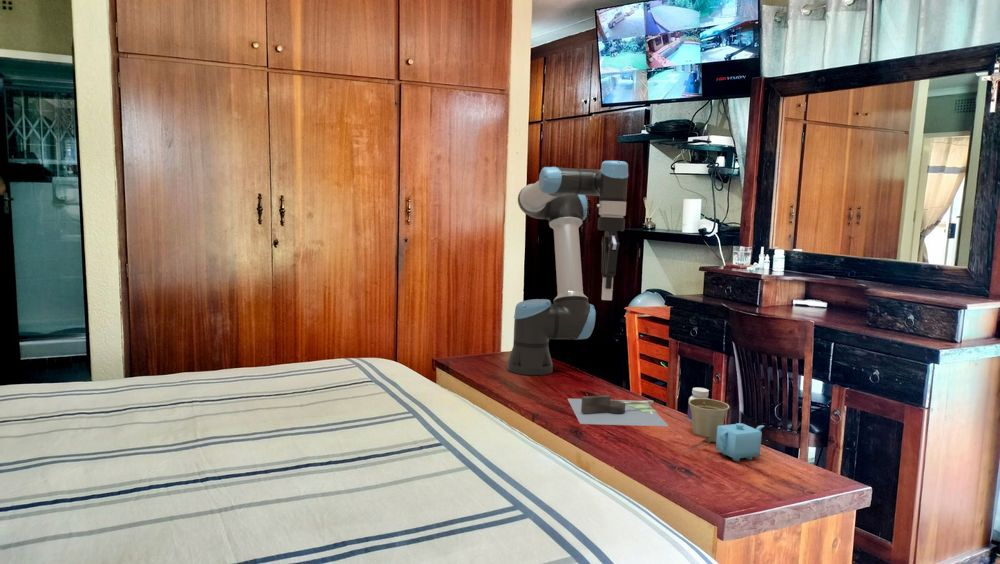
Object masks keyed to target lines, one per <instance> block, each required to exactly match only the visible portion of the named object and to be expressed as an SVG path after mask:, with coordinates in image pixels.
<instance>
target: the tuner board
mask: <svg viewBox="0 0 1000 564" xmlns="http://www.w3.org/2000/svg"><path fill="white" fill-rule="evenodd" d="M615 400H616V401H622V402H633V401H636V400H631V399H630V400H628V399H627V400H626V399H615ZM567 401H568V403H569V405H570V407H571V409H572V411H573V412H574V415H575V417H576V419H577V420H578V422H579V425H595V426H596V425H598V426H599V425H600V426H602V425H604V426H608V425H609V426H635V427H637V426H638V427H641V426H643V427H670V426H669V425H668V423H667V422H665V420H664V419H663V418H662V417H661V416H660V415H659V414H658V412H657V411H656V410H655V409H654V408H653V407H652V405H651V404H636V405H625V412H624V413H611V412H597V413H582V412H581V405H582V398H567Z"/></svg>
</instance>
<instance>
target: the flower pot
mask: <svg viewBox="0 0 1000 564" xmlns="http://www.w3.org/2000/svg"><path fill="white" fill-rule="evenodd" d="M688 403H689V405H690V409H691V414H692V423H691V427H692V428H691V429H692V433H694V434H695V435H697V436H701V437H704V439H703V440H702V443H703V442H704V443H711V442H713V443H716V440H717V427H718V426H721V425H724V422H725V417H726V415H727V413H728V410H729V409H730V405H729V404H728V403H726V402H723V401H721V400H716V399H713V398H712V399H711V398H709V399H705V398H697V399H691V400H689V399H688Z"/></svg>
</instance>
